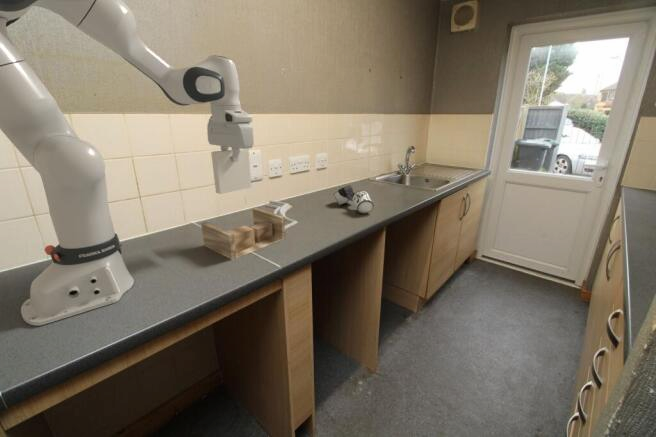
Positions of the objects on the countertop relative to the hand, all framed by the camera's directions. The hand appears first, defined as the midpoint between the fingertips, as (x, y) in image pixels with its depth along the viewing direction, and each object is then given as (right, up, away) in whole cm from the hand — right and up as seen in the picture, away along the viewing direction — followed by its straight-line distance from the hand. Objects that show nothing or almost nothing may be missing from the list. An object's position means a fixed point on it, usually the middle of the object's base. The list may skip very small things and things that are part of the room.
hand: (231, 160), depth 100 cm
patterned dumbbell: (+43, -14, +47) cm, 66 cm away
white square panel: (0, -9, +3) cm, 10 cm away
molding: (+9, -19, +36) cm, 41 cm away
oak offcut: (+2, -28, +2) cm, 28 cm away
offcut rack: (+3, -28, +7) cm, 29 cm away
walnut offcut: (+8, -26, +9) cm, 28 cm away
